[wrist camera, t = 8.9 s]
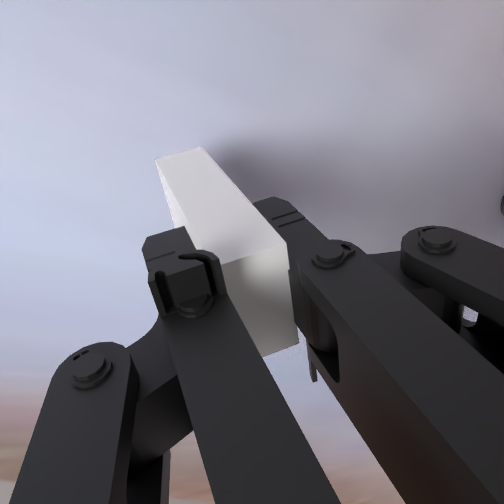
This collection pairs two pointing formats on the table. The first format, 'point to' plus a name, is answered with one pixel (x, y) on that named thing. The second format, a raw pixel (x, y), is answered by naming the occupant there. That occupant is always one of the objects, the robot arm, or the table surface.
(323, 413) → the table surface
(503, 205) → the post
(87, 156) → the table surface
